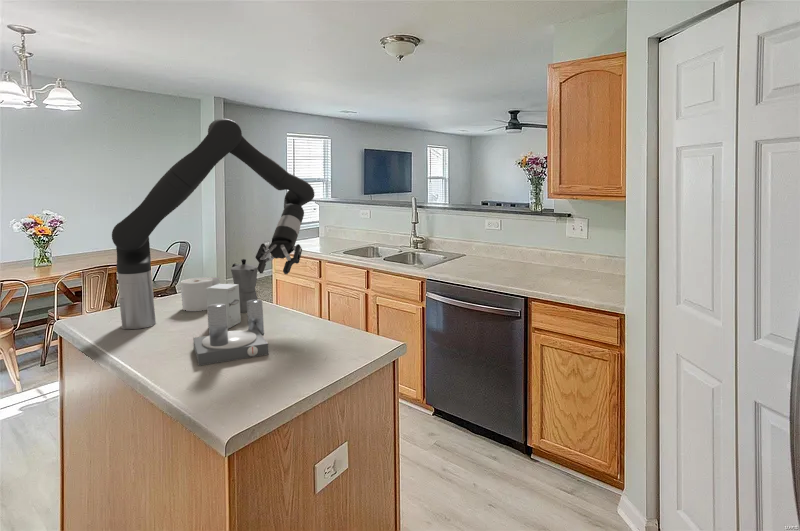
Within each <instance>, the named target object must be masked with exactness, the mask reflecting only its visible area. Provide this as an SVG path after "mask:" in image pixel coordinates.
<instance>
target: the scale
mask: <svg viewBox="0 0 800 531" xmlns="http://www.w3.org/2000/svg"><path fill="white" fill-rule="evenodd" d="M192 340H193V350H194V353H195V356H196V360H197V364H198V366H205V365H213V364H218V363H223V362H224V363H225V362H229V361H236V360H242V359H248V358H255V357H261V356H267V355H269V343H268V341H267V340H266V339H265V337H264V336H263V335H261V333H260V332H259V331H258V329H254V330H228V344H226V345H223V346H211V345H210V336H209V335H204V336H198V337H193V338H192Z"/></svg>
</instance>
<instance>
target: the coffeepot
mask: <svg viewBox="0 0 800 531" xmlns="http://www.w3.org/2000/svg"><path fill="white" fill-rule="evenodd" d="M240 261H241V264H240V263H238V264H237V263H233V264H232V266H231V267H230V272H231V276H232V280H233V284H239V298H240V314H247V301H249V300H259V299H258V296H257V292H256V291H257V290H256V286H257V279H258V269H257V268H258V265H252V264H247V263H246V262H247V259H245V258H243V259H241V260H240Z"/></svg>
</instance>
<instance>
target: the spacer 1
mask: <svg viewBox="0 0 800 531" xmlns="http://www.w3.org/2000/svg"><path fill="white" fill-rule="evenodd" d="M207 309H208V314H207V323H208V322H209V327H208V331H209V332H208V333H209V335H208V336H210V345H211V346H223V345H226V344H228V331H229V329H227V315H226V305H225V304H212V305H208V306H207Z"/></svg>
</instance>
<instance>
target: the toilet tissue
mask: <svg viewBox="0 0 800 531" xmlns="http://www.w3.org/2000/svg"><path fill="white" fill-rule="evenodd" d="M217 284H221V277H213V276H211V277H209V276H206V277H191V278H186V279H182V280H181V281H180V294H181V303H182V304H181V306H182V307H181V308H182V311H185V310H186V312H200V311H201V312H202V310H203V311H207V298H206V288H208V287H211V286H214V285H217Z"/></svg>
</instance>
